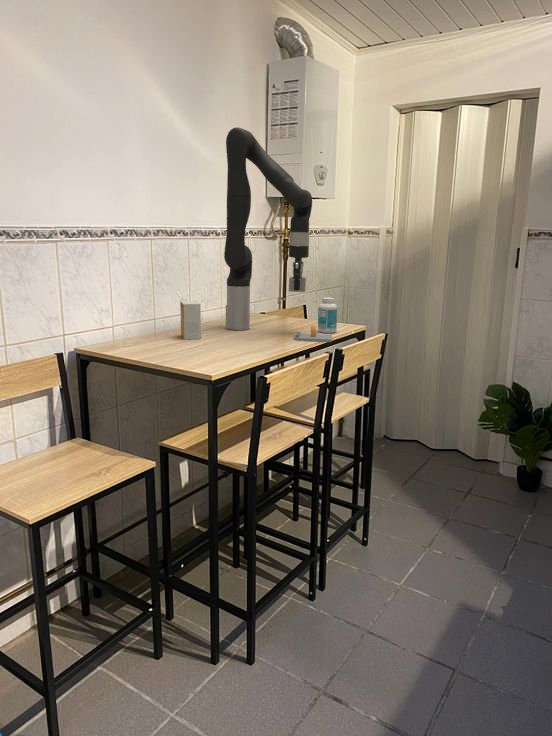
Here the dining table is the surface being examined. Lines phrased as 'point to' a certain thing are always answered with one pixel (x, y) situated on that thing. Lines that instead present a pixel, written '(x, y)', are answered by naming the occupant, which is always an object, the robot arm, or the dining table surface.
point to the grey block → (302, 284)
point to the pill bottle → (327, 316)
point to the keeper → (313, 336)
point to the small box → (190, 320)
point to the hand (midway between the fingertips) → (297, 289)
